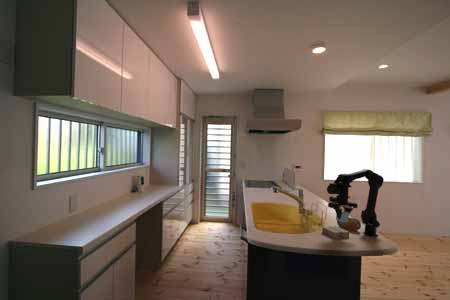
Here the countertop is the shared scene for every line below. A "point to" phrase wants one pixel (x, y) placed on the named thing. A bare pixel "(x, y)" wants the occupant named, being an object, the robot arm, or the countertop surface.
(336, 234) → the walnut block
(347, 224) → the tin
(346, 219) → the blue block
